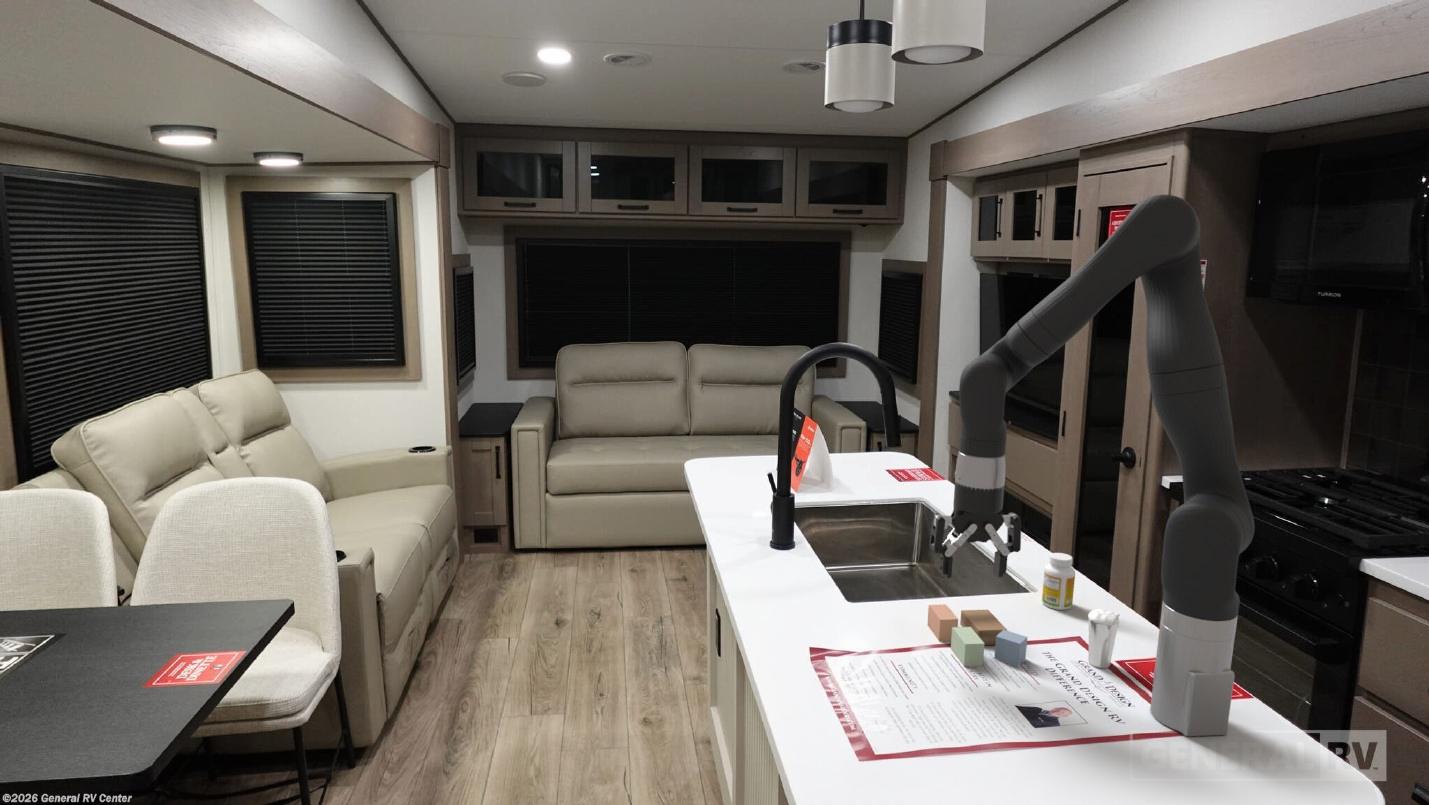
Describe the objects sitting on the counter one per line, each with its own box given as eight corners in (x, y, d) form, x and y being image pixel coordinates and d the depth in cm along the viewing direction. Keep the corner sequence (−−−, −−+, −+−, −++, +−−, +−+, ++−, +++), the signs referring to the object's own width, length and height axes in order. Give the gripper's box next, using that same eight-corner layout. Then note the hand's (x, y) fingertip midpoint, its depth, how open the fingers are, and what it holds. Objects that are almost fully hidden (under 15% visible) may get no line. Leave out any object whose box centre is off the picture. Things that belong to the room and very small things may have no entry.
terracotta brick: (956, 640, 145) (958, 619, 145) (938, 641, 145) (940, 619, 144) (944, 625, 151) (946, 604, 151) (927, 625, 151) (928, 605, 150)
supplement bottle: (1067, 599, 162) (1071, 551, 161) (1075, 611, 157) (1080, 562, 155) (1038, 598, 163) (1042, 550, 161) (1046, 610, 158) (1050, 561, 156)
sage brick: (982, 666, 137) (984, 643, 136) (963, 667, 136) (965, 644, 136) (969, 648, 143) (970, 626, 142) (950, 649, 142) (952, 627, 142)
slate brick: (1025, 659, 139) (1027, 637, 138) (1018, 666, 137) (1020, 643, 136) (1001, 651, 142) (1003, 629, 141) (994, 658, 139) (996, 636, 138)
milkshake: (1100, 674, 134) (1106, 616, 132) (1077, 658, 139) (1083, 602, 137) (1124, 671, 135) (1130, 613, 133) (1100, 655, 140) (1106, 599, 139)
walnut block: (1005, 646, 144) (1007, 629, 144) (977, 646, 144) (978, 630, 143) (986, 625, 152) (988, 609, 151) (960, 626, 152) (961, 610, 151)
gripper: (944, 487, 130) (937, 586, 133) (1033, 486, 131) (1024, 584, 134) (928, 474, 137) (922, 568, 140) (1013, 473, 138) (1005, 566, 141)
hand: (972, 575), depth 137 cm, fingers open, 8 cm apart
